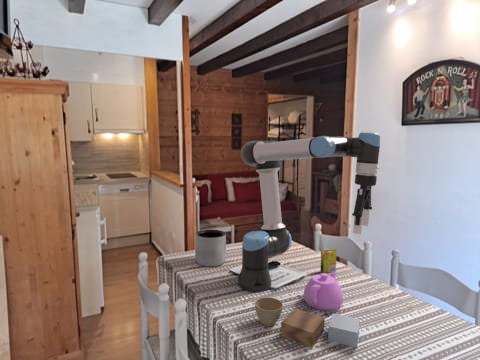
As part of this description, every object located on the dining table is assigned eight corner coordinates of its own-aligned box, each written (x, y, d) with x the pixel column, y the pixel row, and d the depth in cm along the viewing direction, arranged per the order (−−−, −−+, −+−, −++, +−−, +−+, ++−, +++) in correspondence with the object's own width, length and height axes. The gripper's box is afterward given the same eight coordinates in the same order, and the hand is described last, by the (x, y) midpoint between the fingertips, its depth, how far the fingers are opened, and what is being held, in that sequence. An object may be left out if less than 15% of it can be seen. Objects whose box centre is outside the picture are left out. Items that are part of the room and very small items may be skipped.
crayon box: (332, 269, 171) (333, 247, 170) (336, 271, 168) (337, 249, 167) (319, 270, 169) (321, 248, 167) (323, 273, 166) (324, 250, 164)
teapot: (330, 320, 123) (332, 289, 121) (292, 307, 132) (293, 277, 131) (351, 298, 140) (353, 270, 139) (316, 287, 149) (317, 261, 148)
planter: (231, 260, 180) (232, 232, 178) (213, 270, 166) (213, 239, 164) (207, 254, 188) (208, 227, 186) (188, 263, 175) (188, 234, 173)
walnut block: (280, 336, 112) (281, 322, 112) (294, 321, 121) (295, 308, 121) (312, 347, 106) (312, 333, 106) (323, 331, 115) (324, 317, 115)
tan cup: (281, 332, 115) (281, 312, 114) (252, 328, 117) (252, 308, 116) (283, 317, 124) (283, 298, 123) (256, 313, 126) (257, 295, 125)
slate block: (328, 340, 110) (328, 326, 110) (332, 326, 119) (332, 313, 118) (356, 347, 107) (357, 333, 106) (358, 333, 115) (359, 319, 114)
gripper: (370, 178, 113) (364, 239, 116) (382, 172, 134) (376, 224, 137) (347, 176, 117) (342, 235, 120) (362, 170, 138) (357, 220, 141)
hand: (360, 229), depth 128 cm, fingers open, 13 cm apart
